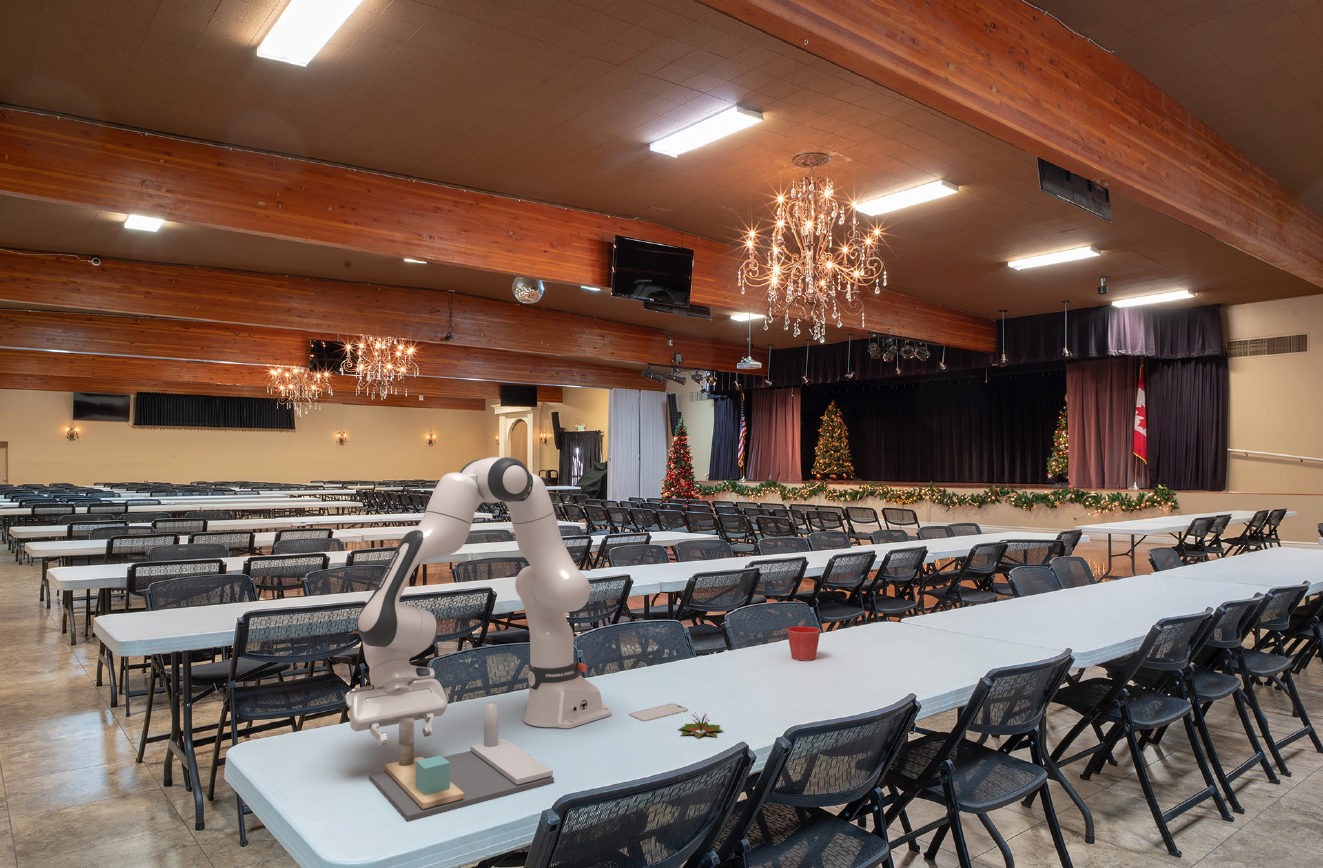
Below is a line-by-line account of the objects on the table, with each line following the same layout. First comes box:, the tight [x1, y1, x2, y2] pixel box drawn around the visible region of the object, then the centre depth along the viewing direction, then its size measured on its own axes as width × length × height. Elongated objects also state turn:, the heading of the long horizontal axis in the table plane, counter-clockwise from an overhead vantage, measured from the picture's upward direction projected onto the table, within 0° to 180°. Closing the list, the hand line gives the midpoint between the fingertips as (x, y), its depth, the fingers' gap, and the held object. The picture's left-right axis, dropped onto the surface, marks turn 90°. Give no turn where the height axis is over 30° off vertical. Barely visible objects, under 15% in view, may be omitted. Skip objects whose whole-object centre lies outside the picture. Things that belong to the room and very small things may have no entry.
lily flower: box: [677, 711, 725, 739], centre depth 194 cm, size 12×12×5 cm
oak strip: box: [383, 718, 464, 809], centre depth 160 cm, size 8×24×10 cm, turn 35°
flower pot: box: [786, 626, 821, 662], centre depth 267 cm, size 11×11×10 cm
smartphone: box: [628, 703, 689, 722], centre depth 209 cm, size 7×1×15 cm
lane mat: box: [368, 750, 555, 822], centre depth 165 cm, size 30×25×1 cm
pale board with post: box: [470, 701, 554, 785], centre depth 171 cm, size 8×24×10 cm, turn 36°
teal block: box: [416, 755, 450, 795], centre depth 155 cm, size 5×5×5 cm
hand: (406, 739), depth 168 cm, fingers open, 8 cm apart
